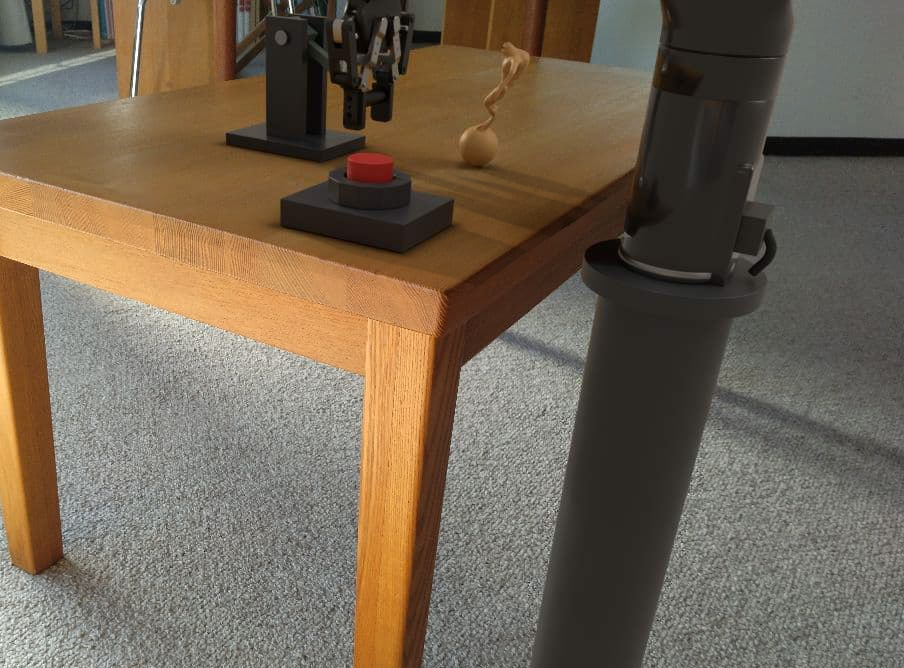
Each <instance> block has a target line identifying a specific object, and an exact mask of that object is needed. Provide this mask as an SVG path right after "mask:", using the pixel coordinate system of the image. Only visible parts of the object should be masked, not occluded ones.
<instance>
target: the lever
mask: <svg viewBox="0 0 904 668" xmlns="http://www.w3.org/2000/svg"><path fill="white" fill-rule="evenodd" d="M290 18H299V19H301V18H300V17H299V16H295V17H290ZM317 34H318V33H317V32H316V31H315V30H314V29H313V28H312V27H310V26H309V25H308V36H307V53H308V54H309V55H310V56H311V57H313V58H314V59H315V60H316V61H317V62H318V63H319V64H321V65H322V66H323V67H324V68H325V69H326V70H327V72H328V73H330V70H329V59H328V53H327V52H326V51H324V50H323V49H322V48H321V47H320V46H319V45H318V44H316V43H315V42H314V40H315V38H316V36H317ZM342 68H343V64H341V63H340V71H342ZM365 91H367V102H366V108H368V107H371V106H372V105H376V104H379V103H383V102H385V101H386V99H387V91H386V90H385V89H384V88H383V87H377V88H373V89H372V88H368V87H367V88H366V90H365Z"/></svg>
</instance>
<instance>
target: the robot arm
mask: <svg viewBox="0 0 904 668" xmlns="http://www.w3.org/2000/svg"><path fill="white" fill-rule="evenodd" d="M659 4H660V10H661V19H662V20H661V21H662V23H661V31H660V36H659V45H658V48H657V54H656V59H655V64H654V68H653V69H654V70H653V74H652V79H651V84H650V90H649V95H648V100H647V106H646V111H645V115H644V121H643V125H642V131H641V137H640V142H639V147H638V152H637V157H636V162H635V167H634V173H633V177H632V182H631V186H630V187H631V188H630V193H629V197H628V203H627V208H626V214H625V220H624V225H623V231H624V232H625V234H627V235H628V236H624V235H623V236H622V235H621V237H620V238H621V243H620V245H619V249H618V254H617V260H618V262H619V263H620V264H621V265H622V266H624V267H625V268H627V269H629V270H631V271H633V272H635V273H637V274H640V275H643V276H645V277H649V278H652V279H656V280H661V281H666V282H672V283H679V284H691V285H714V286H718V287H724V286H725V285H726V283H727V281H728V280H729V278H731V276H732V274H733V271H734V270H735V268H736V265H737V262H738V258H739V257H740V254H741V255H746V256H752V257H758V255H759V254H760V252H761V250H762V248H763V246H764V245H765V252H764V253H763V255H762V257H761V258H760V259H759V260H758V261H756V262H755V263H753V264H754V265H753V266H752V267H751V268H750V269H749V270H748V272H749V274H751V275H752V276H757V274H759V273H760V272H761V271H763V270H765V269H766V268H767V267H768V266H770V264H771V263H772V262H773V260H774V259H775V258H776V254H777V250H778V249H777V248H778V245H777V240H776V238H775V236H774V233H773V230H772V228H770V227H771V222H772V219H773V216H774V211H775V208H776V206H775V204H769V203H762V202H758V201H754V199H755V195H756V192H757V188H758V184H759V181H760V176H761V172H762V169H763V165H764V161H765V155H764V154H763V152H764V148H765V144H766V140H767V137H768V132H769V128H770V124H771V121H772V117H773V112H774V109H775V105H776V102H777V97H778V95H779V94H778V93H779V90H780V86H781V82H782V77H783V74H784V70H785V67H786V62H787V60H788V59H787V58H788V54H789V51H790V48H791V43H792V39H793V36H794V31H795V27H796V21H797V20H796V19H797V18H796V13H795V9H794V4H793V0H659ZM415 22H416V15H415V13H413V12H407V11H402V5H401V0H346V1H345V6H344V10H343V16H342V17H340V18H332V17H331V18H330V17H329V18H328V19H327V21H326V36H327V48H328V59H329V70H330V72H329V77H330V78H329V80H330V83H331V84H333V85H337V86H339V87H340V89H342V90H343V102H342V103H343V104H342V105H343V106H342V107H343V109H342V126H343V128H344V129H345V130H350V131H355V132H359V131H363V130H364V129H365V128H366V120H367V117H366V116H367V107H366V102H367V91H365V90H366V88H368V84H369V79H370V75H371V74H372V75H371V76H372V80H373V81H374V82H372V83H371V89H373V88H377V87H383V88H384V89H385V90H386V91H387V99H386V101H385V102H383V103H379V104H376V105H372V106H370V113H369V114H370V119H371V120H372V121H374V122H378V123H379V122H380V123H388V122H391V121H392V120H393V112H394V111H393V109H394V108H393V107H394V94H395V93H394V92H395V91H394V90H395V84H397V83H398V82H399V78H400V76H405V75H407V72H408V66H409V59H410V54H411V47H412V41H413V36H414V29H415ZM340 61H341V62H342V66H343V68H342V71H340V64H341V62H340ZM359 67H360V69H359Z"/></svg>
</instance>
